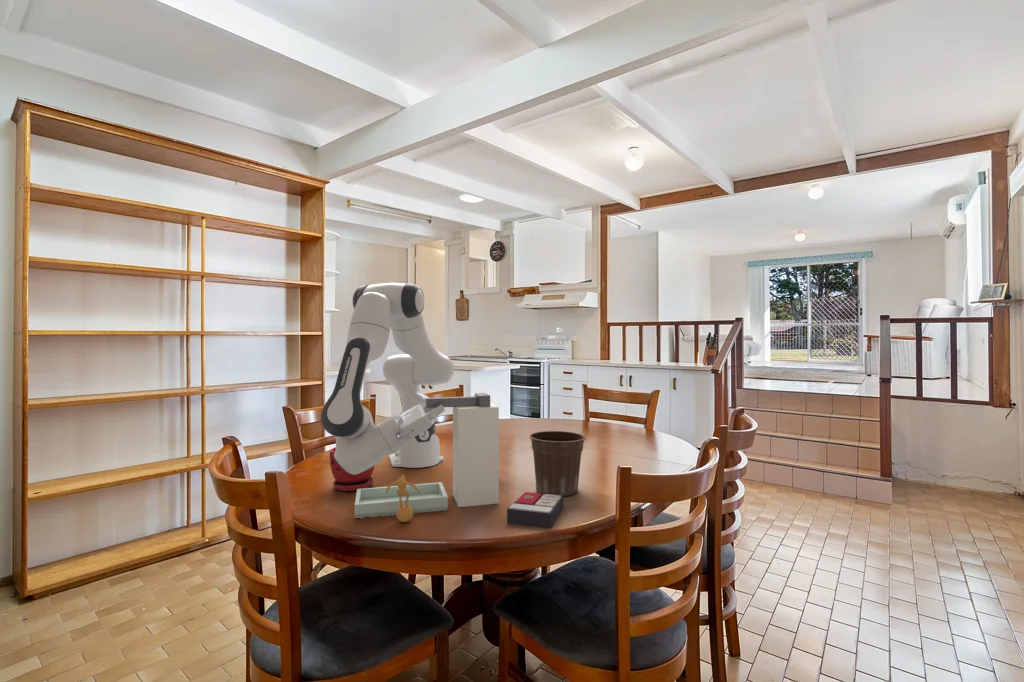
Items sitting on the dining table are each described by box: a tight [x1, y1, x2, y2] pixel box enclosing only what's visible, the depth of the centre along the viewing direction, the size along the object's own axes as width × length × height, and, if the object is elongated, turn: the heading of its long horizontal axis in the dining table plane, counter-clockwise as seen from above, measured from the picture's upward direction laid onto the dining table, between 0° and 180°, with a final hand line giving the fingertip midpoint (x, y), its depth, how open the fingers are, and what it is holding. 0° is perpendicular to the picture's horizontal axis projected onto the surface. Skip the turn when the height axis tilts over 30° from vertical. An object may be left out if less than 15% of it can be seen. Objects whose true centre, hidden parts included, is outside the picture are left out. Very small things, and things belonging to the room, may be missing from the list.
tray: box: [354, 481, 449, 519], centre depth 127 cm, size 13×23×4 cm, turn 105°
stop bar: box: [426, 392, 491, 408], centre depth 131 cm, size 7×17×3 cm, turn 105°
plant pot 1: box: [329, 446, 375, 492], centre depth 144 cm, size 13×13×12 cm
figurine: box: [386, 474, 420, 523], centre depth 115 cm, size 8×6×12 cm
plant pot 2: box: [529, 430, 587, 497], centre depth 140 cm, size 16×16×16 cm
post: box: [452, 401, 500, 508], centre depth 132 cm, size 10×11×26 cm
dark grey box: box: [506, 491, 565, 529], centre depth 121 cm, size 11×4×15 cm
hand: (441, 404), depth 130 cm, fingers open, 8 cm apart
